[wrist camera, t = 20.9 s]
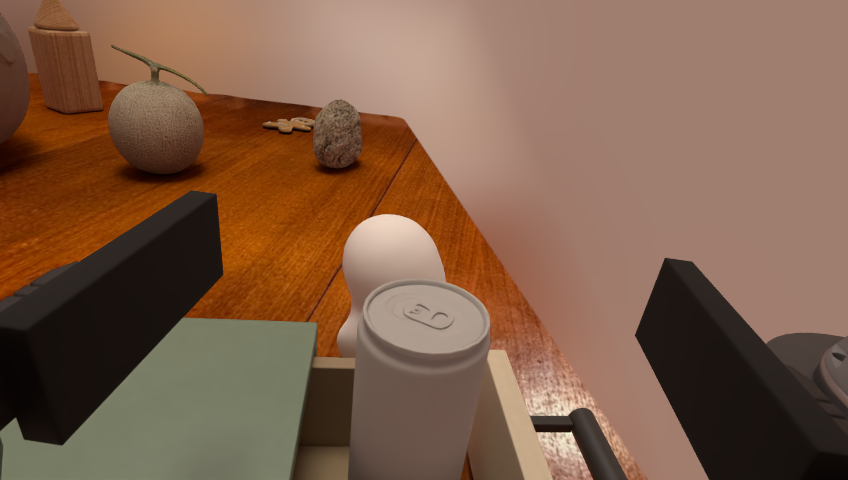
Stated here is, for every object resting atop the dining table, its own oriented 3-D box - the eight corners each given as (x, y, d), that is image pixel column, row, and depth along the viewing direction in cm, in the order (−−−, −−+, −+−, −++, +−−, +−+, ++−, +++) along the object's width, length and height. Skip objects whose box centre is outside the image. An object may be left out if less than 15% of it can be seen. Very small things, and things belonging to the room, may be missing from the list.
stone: (371, 163, 76) (376, 100, 72) (334, 178, 68) (337, 108, 64) (340, 154, 79) (342, 93, 74) (301, 167, 71) (301, 99, 66)
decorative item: (44, 107, 84) (14, -21, 75) (84, 103, 89) (60, -17, 80) (64, 115, 81) (36, -17, 72) (105, 110, 86) (83, -13, 77)
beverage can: (379, 461, 25) (400, 263, 20) (463, 506, 23) (511, 302, 18) (323, 542, 21) (330, 321, 16) (419, 603, 19) (464, 378, 14)
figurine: (348, 335, 37) (355, 192, 32) (444, 347, 37) (468, 206, 32) (327, 404, 31) (332, 238, 25) (444, 417, 31) (473, 255, 25)
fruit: (214, 183, 61) (204, 62, 55) (110, 185, 57) (86, 53, 51) (214, 158, 70) (205, 50, 63) (124, 158, 66) (104, 43, 59)
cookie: (256, 120, 88) (296, 114, 96) (257, 125, 89) (296, 118, 97) (288, 130, 85) (327, 123, 92) (288, 135, 85) (326, 127, 93)
